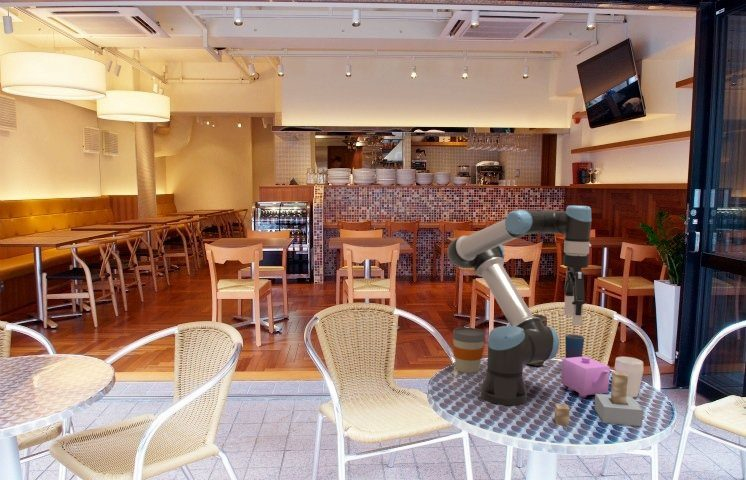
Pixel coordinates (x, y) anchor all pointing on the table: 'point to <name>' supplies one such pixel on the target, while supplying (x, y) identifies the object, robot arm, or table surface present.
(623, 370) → the cup
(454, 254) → the robot arm
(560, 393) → the table surface
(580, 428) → the table surface
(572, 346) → the cup
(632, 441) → the table surface
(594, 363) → the teapot
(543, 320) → the candle
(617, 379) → the long peg
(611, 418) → the socket block
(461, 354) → the reusable coffee cup
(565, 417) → the short peg
